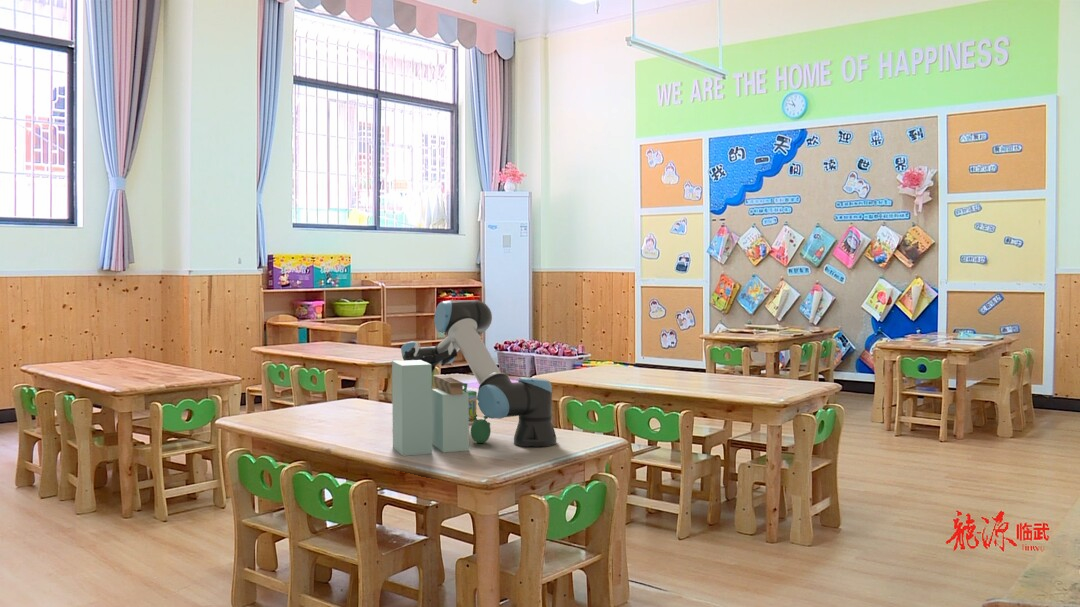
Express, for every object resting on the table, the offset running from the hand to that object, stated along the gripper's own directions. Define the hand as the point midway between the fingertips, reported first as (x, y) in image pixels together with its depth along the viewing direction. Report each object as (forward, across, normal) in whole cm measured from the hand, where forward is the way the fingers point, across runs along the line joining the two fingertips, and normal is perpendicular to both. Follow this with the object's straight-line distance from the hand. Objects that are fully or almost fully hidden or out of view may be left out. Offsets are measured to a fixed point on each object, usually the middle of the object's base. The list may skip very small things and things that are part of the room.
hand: (435, 344), depth 331 cm
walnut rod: (+12, +2, -24) cm, 27 cm away
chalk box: (-41, -18, -15) cm, 47 cm away
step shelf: (+5, +9, -42) cm, 43 cm away
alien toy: (+2, -10, -40) cm, 42 cm away
